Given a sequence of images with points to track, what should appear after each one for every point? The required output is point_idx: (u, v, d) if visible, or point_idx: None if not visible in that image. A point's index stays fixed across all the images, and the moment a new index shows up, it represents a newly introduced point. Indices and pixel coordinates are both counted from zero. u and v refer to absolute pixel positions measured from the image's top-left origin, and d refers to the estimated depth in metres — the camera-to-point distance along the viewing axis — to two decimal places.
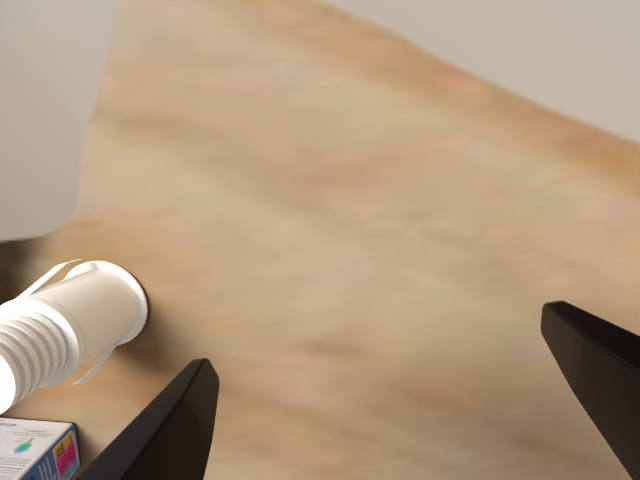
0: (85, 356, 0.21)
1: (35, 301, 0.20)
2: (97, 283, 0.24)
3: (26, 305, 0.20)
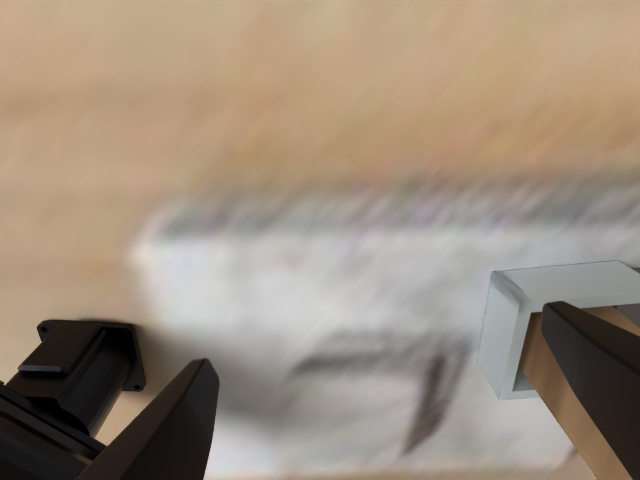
0: None
1: None
2: None
3: None
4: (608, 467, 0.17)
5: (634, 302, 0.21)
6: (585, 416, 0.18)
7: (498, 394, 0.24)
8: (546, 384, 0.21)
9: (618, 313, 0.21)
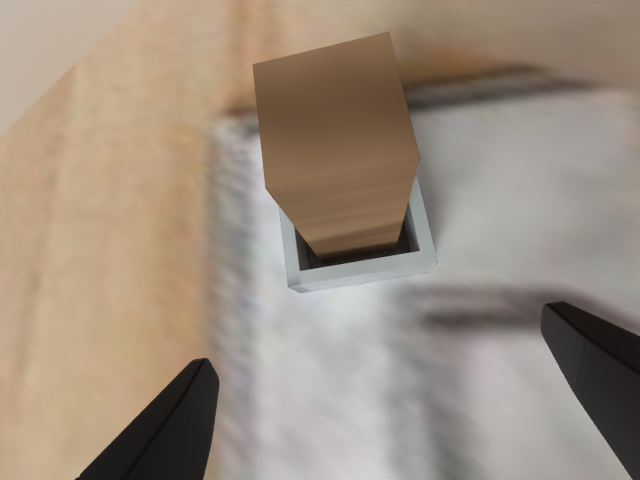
0: None
1: None
2: None
3: None
4: (375, 201, 0.14)
5: None
6: (350, 221, 0.16)
7: (429, 264, 0.19)
8: (375, 234, 0.18)
9: None
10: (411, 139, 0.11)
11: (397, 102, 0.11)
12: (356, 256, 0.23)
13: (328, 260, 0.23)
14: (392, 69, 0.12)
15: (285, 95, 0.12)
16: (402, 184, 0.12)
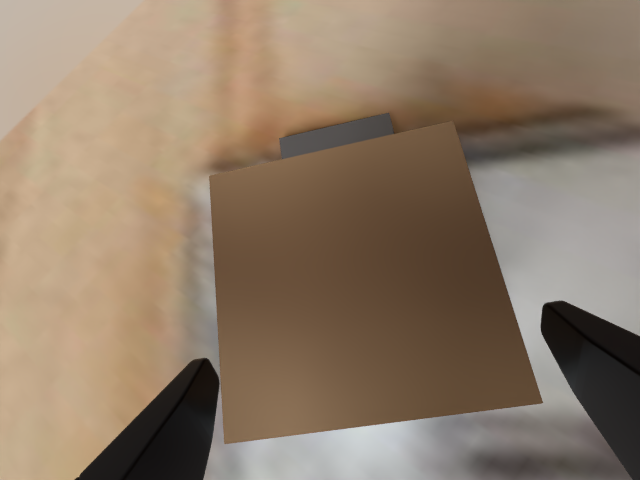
0: None
1: None
2: None
3: None
4: None
5: None
6: None
7: None
8: None
9: None
10: (520, 356, 0.05)
11: (482, 267, 0.06)
12: None
13: None
14: (465, 195, 0.06)
15: (266, 240, 0.07)
16: None
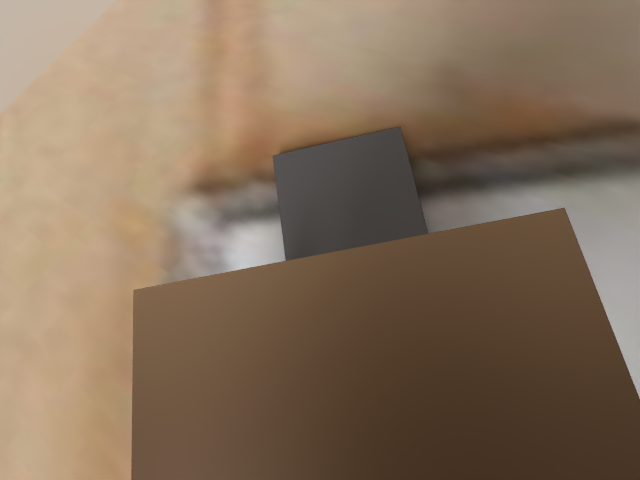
0: None
1: None
2: None
3: None
4: None
5: None
6: None
7: None
8: None
9: None
10: None
11: None
12: None
13: None
14: (604, 366, 0.03)
15: (224, 428, 0.04)
16: None
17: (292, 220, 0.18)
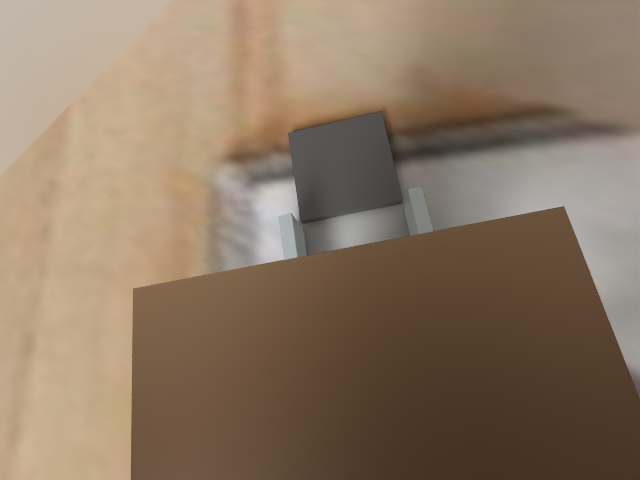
0: None
1: None
2: None
3: None
4: None
5: (293, 238, 0.20)
6: None
7: None
8: None
9: None
10: None
11: None
12: None
13: None
14: (603, 363, 0.03)
15: (224, 427, 0.04)
16: None
17: (303, 178, 0.24)
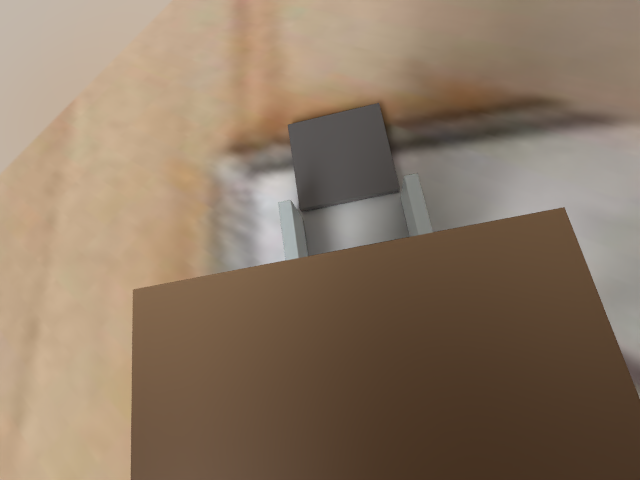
0: None
1: None
2: None
3: None
4: None
5: (292, 224, 0.21)
6: None
7: None
8: None
9: None
10: None
11: None
12: None
13: None
14: (603, 366, 0.03)
15: (223, 428, 0.04)
16: None
17: (302, 168, 0.25)
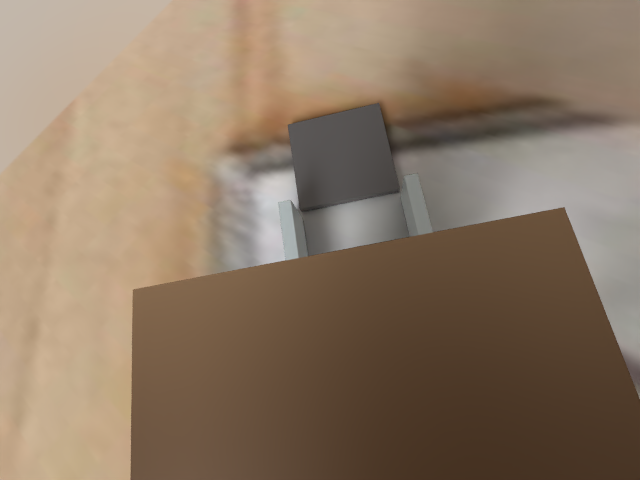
0: None
1: None
2: None
3: None
4: None
5: (292, 224, 0.21)
6: None
7: None
8: None
9: None
10: None
11: None
12: None
13: None
14: (604, 365, 0.03)
15: (223, 428, 0.04)
16: None
17: (302, 168, 0.25)
